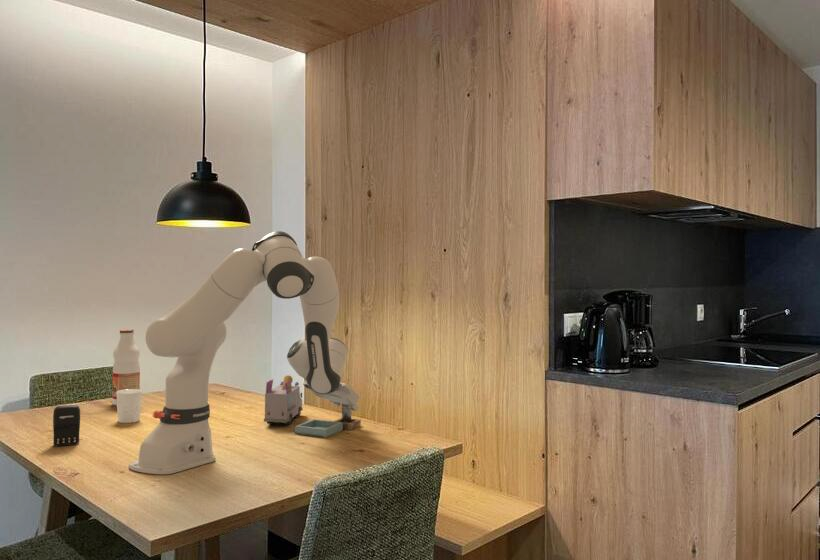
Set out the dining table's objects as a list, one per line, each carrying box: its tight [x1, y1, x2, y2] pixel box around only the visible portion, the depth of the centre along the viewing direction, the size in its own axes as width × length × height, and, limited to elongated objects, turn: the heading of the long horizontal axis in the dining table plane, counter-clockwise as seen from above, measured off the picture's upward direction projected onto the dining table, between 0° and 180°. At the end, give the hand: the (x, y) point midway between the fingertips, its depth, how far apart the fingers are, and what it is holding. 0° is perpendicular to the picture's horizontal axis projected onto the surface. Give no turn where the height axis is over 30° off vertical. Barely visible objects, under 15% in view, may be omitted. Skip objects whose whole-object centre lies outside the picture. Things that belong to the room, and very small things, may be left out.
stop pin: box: [341, 403, 353, 423], centre depth 213 cm, size 4×4×11 cm
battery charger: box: [52, 403, 81, 447], centre depth 185 cm, size 7×4×11 cm, turn 118°
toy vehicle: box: [263, 374, 303, 426], centre depth 220 cm, size 9×20×15 cm, turn 174°
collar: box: [334, 417, 362, 431], centre depth 213 cm, size 7×7×2 cm
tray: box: [294, 418, 344, 439], centre depth 206 cm, size 11×11×2 cm
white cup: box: [116, 389, 143, 424], centre depth 216 cm, size 8×8×10 cm
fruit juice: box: [111, 328, 141, 407], centre depth 242 cm, size 9×9×28 cm
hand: (347, 406), depth 213 cm, fingers open, 8 cm apart
